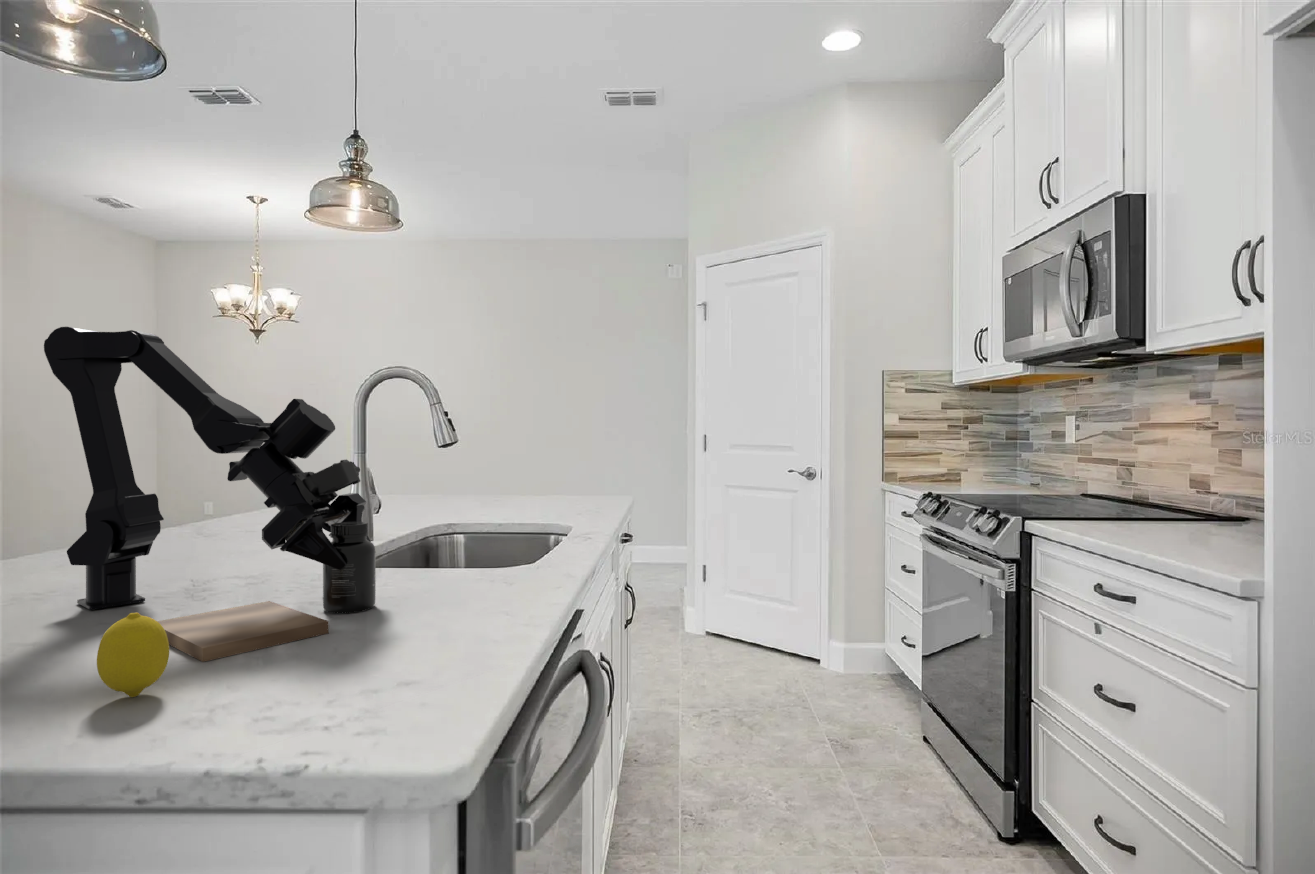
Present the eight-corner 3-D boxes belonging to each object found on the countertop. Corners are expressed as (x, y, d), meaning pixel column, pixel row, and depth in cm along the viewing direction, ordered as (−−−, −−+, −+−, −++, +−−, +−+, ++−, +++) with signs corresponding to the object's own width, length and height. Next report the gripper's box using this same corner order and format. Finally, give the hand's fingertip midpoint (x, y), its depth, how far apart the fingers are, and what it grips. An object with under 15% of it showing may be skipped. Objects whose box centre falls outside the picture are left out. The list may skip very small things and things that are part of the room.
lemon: (131, 710, 65) (131, 622, 65) (81, 705, 66) (80, 618, 66) (183, 688, 70) (183, 607, 70) (136, 684, 71) (136, 603, 71)
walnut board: (150, 634, 88) (149, 622, 88) (269, 611, 99) (269, 601, 99) (202, 662, 78) (202, 648, 78) (328, 633, 89) (328, 621, 89)
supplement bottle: (386, 605, 103) (386, 522, 103) (347, 617, 97) (347, 528, 96) (351, 600, 106) (351, 519, 105) (311, 611, 99) (311, 524, 99)
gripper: (284, 443, 92) (369, 530, 91) (353, 440, 110) (423, 513, 110) (224, 504, 92) (308, 591, 92) (303, 491, 111) (373, 563, 110)
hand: (359, 561), depth 101 cm, fingers open, 9 cm apart
